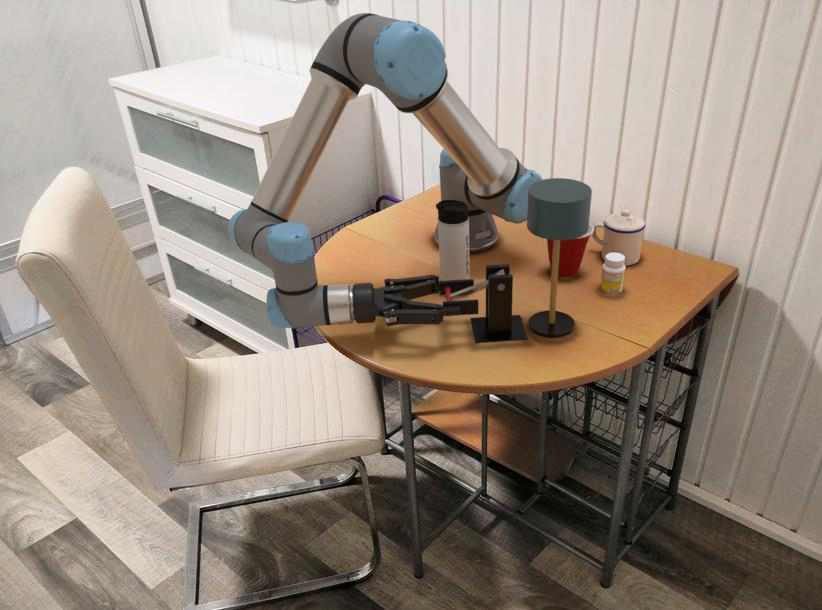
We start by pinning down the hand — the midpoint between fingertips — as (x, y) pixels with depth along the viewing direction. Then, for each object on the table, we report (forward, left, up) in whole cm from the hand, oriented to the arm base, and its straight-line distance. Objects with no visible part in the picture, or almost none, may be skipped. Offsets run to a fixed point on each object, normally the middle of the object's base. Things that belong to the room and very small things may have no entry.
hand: (475, 296), depth 139 cm
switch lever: (0, 0, +1) cm, 1 cm away
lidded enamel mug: (-29, +35, -9) cm, 47 cm away
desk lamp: (0, +15, -9) cm, 17 cm away
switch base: (0, +4, -9) cm, 10 cm away
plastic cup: (-22, +22, -9) cm, 33 cm away
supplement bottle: (-13, +30, -9) cm, 34 cm away
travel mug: (-18, -3, -9) cm, 20 cm away
